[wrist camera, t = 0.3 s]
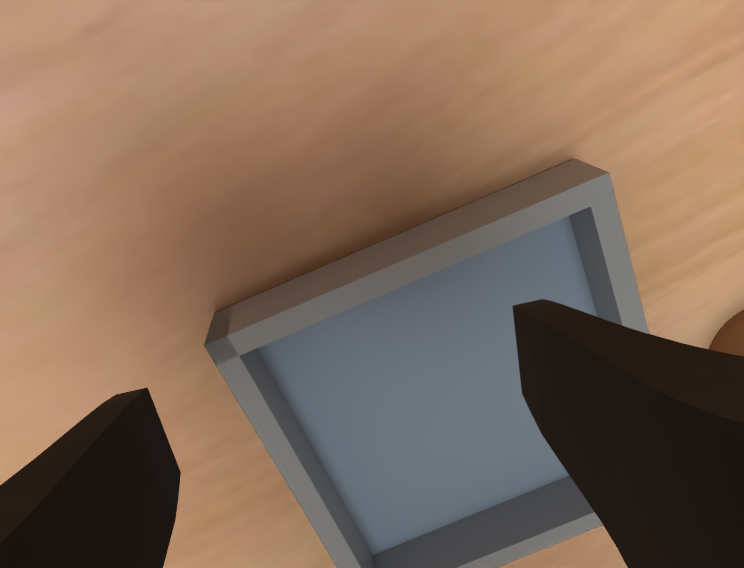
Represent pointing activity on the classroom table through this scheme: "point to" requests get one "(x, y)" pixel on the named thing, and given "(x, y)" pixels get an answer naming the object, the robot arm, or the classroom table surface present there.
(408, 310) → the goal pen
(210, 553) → the classroom table surface
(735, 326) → the walnut post
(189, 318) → the classroom table surface
